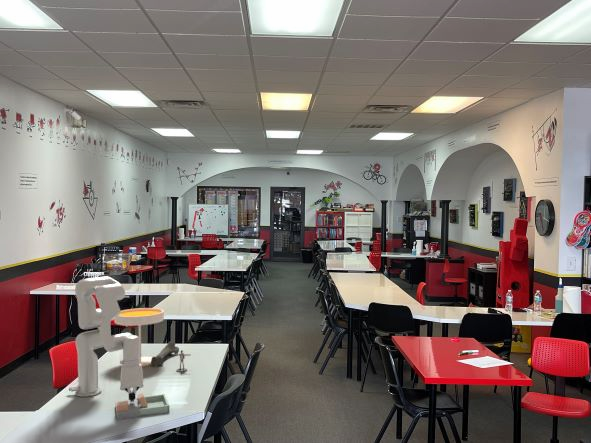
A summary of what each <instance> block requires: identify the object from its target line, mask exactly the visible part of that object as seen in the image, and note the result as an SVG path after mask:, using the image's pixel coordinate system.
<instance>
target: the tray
mask: <svg viewBox="0 0 591 443" xmlns="http://www.w3.org/2000/svg"><path fill="white" fill-rule="evenodd" d="M144 397H145V399H146V401H147V404H148V406H146V407H144V408H142V406H141V404H140V401H139V399H138V397H137V398H136V399H137V400H138V404H139V408H140V416H139V417H144V416H149V415H156V414H158V415H159V414H165V413H170V404H169V402H168V398H167V397H166V394H165V393H163V394H156V395H155V394H154V395H148V396H144Z"/></svg>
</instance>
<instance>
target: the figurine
mask: <svg viewBox="0 0 591 443" xmlns="http://www.w3.org/2000/svg"><path fill="white" fill-rule="evenodd" d="M172 355H173V356H178V357H179V360H180V361H179V368H177V369H176V371H175V372H176V373H186V372H188V369H187V368H185V364H184V363H185V362H184V360H185V357H186V356H188V357H189V356H191V353H189V354H187V353H184V350H182V349H181V350H180V353H178V354H175V353H172Z"/></svg>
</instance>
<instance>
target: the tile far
mask: <svg viewBox="0 0 591 443" xmlns="http://www.w3.org/2000/svg"><path fill="white" fill-rule="evenodd" d="M145 397H146V396H145V394H144V393H143V392H142V393H140V394H138V395H137V398H138V399H139V401H140V404H141V406H142V408H144V407H146V406H148V404H147V401H146V399H145Z"/></svg>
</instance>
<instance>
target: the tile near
mask: <svg viewBox="0 0 591 443" xmlns="http://www.w3.org/2000/svg"><path fill="white" fill-rule="evenodd" d="M122 401H123V402H116V401H115V402H116V408H115V411H116V410H117V411H124V410H128V401H124V400H122Z"/></svg>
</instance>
